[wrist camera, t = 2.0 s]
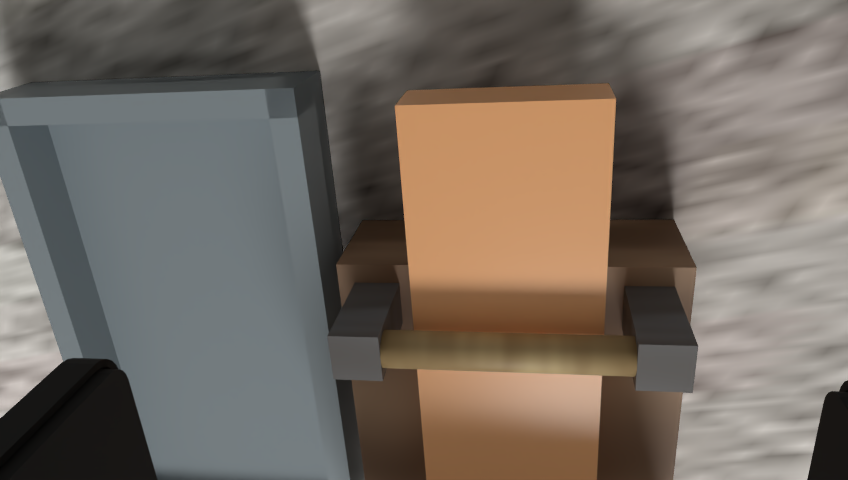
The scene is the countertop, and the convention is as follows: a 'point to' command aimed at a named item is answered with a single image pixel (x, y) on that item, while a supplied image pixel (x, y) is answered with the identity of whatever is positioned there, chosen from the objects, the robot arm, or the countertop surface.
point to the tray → (193, 260)
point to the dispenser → (522, 350)
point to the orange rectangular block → (508, 266)
